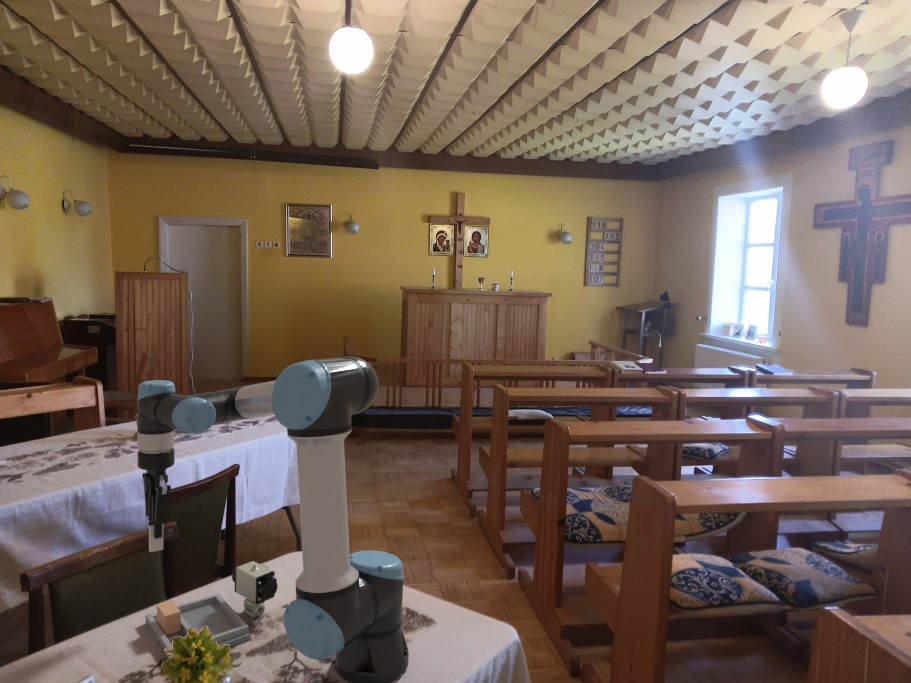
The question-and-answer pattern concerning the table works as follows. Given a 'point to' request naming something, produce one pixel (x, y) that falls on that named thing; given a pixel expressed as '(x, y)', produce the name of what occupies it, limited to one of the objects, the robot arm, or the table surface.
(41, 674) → the table surface
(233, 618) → the grey tray
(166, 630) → the tan cardboard box
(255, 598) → the pneumatic valve
